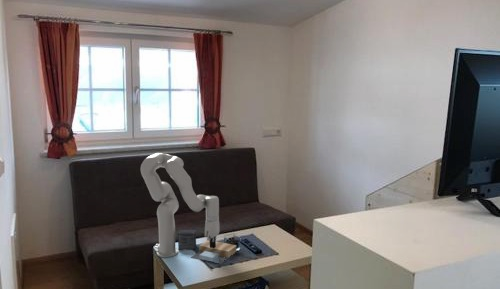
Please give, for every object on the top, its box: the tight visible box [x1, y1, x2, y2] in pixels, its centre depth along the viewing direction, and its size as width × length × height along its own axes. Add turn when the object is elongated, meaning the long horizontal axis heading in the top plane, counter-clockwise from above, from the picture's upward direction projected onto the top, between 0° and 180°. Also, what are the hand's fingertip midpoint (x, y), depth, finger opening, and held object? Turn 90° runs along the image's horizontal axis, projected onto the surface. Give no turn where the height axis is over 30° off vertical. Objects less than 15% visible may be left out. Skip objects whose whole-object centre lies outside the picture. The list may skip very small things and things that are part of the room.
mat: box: [190, 250, 229, 265], centre depth 227 cm, size 20×9×1 cm, turn 65°
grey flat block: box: [199, 251, 218, 262], centre depth 225 cm, size 9×6×2 cm, turn 65°
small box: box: [177, 229, 197, 251], centre depth 240 cm, size 11×6×10 cm, turn 92°
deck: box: [198, 239, 237, 259], centre depth 235 cm, size 20×10×4 cm, turn 65°
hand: (212, 247), depth 229 cm, fingers closed
